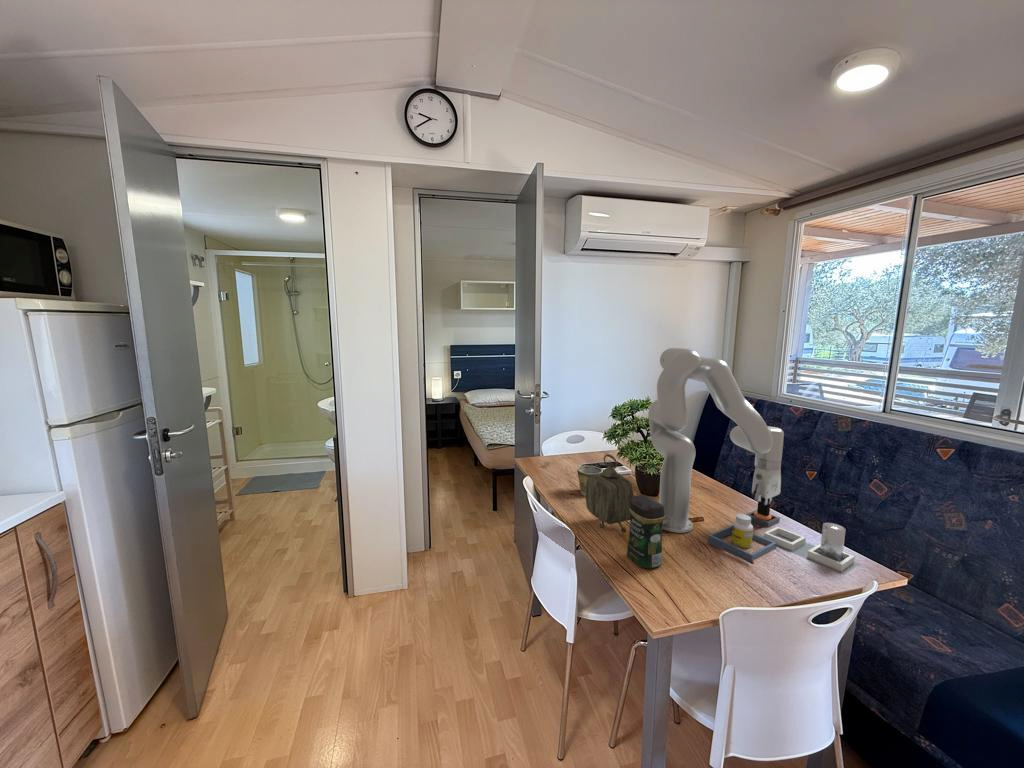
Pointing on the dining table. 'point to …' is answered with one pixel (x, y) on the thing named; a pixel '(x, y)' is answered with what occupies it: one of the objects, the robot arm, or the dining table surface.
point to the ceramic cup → (586, 475)
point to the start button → (762, 516)
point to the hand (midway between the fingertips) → (763, 514)
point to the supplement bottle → (742, 531)
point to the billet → (832, 541)
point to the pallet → (808, 550)
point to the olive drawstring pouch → (609, 496)
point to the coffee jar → (645, 531)
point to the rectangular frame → (716, 541)
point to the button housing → (761, 522)
